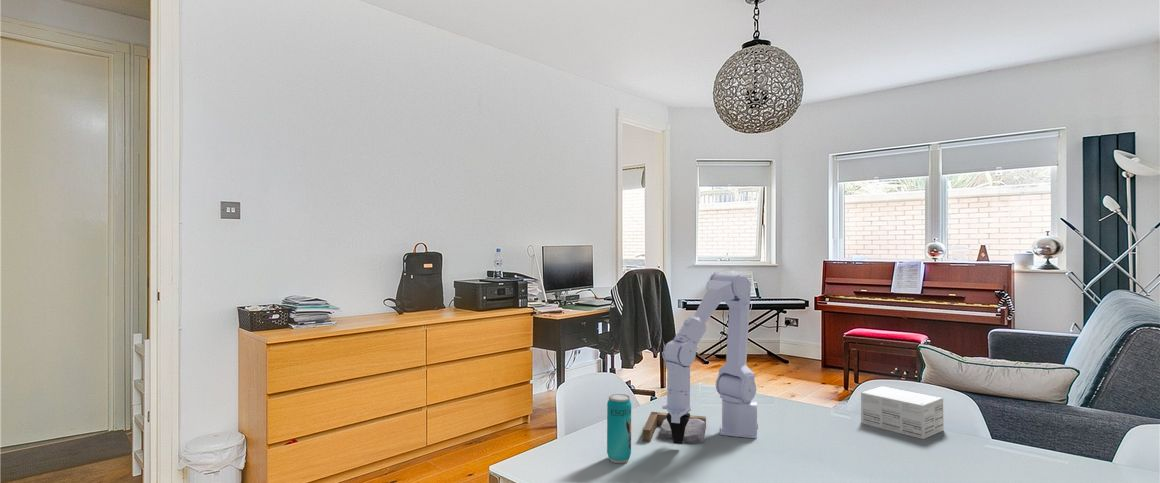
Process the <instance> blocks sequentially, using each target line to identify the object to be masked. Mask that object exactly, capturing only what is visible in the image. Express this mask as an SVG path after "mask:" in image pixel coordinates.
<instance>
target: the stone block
mask: <svg viewBox="0 0 1160 483" xmlns="http://www.w3.org/2000/svg"><path fill="white" fill-rule="evenodd" d="M706 429H707V423H706V424H705V422H704V421H702V420H701V419H697V418H694V419H689V421H688V423H687V425H686V428H685V433H684V439H683V443H689V444H691V443H692V444H697V443H698V444H700V443H701V444H702V443H703V442H704V441H705V436H706V431H707V430H706ZM659 431H660V432H659V433H660V434H659V435H660V437H662V438H667V439H671V440H673V438H672V432H671V428H670V425H669V423H668V421H667V418H666V419H665V420H664V421H663V423H662V425H660V430H659Z"/></svg>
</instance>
